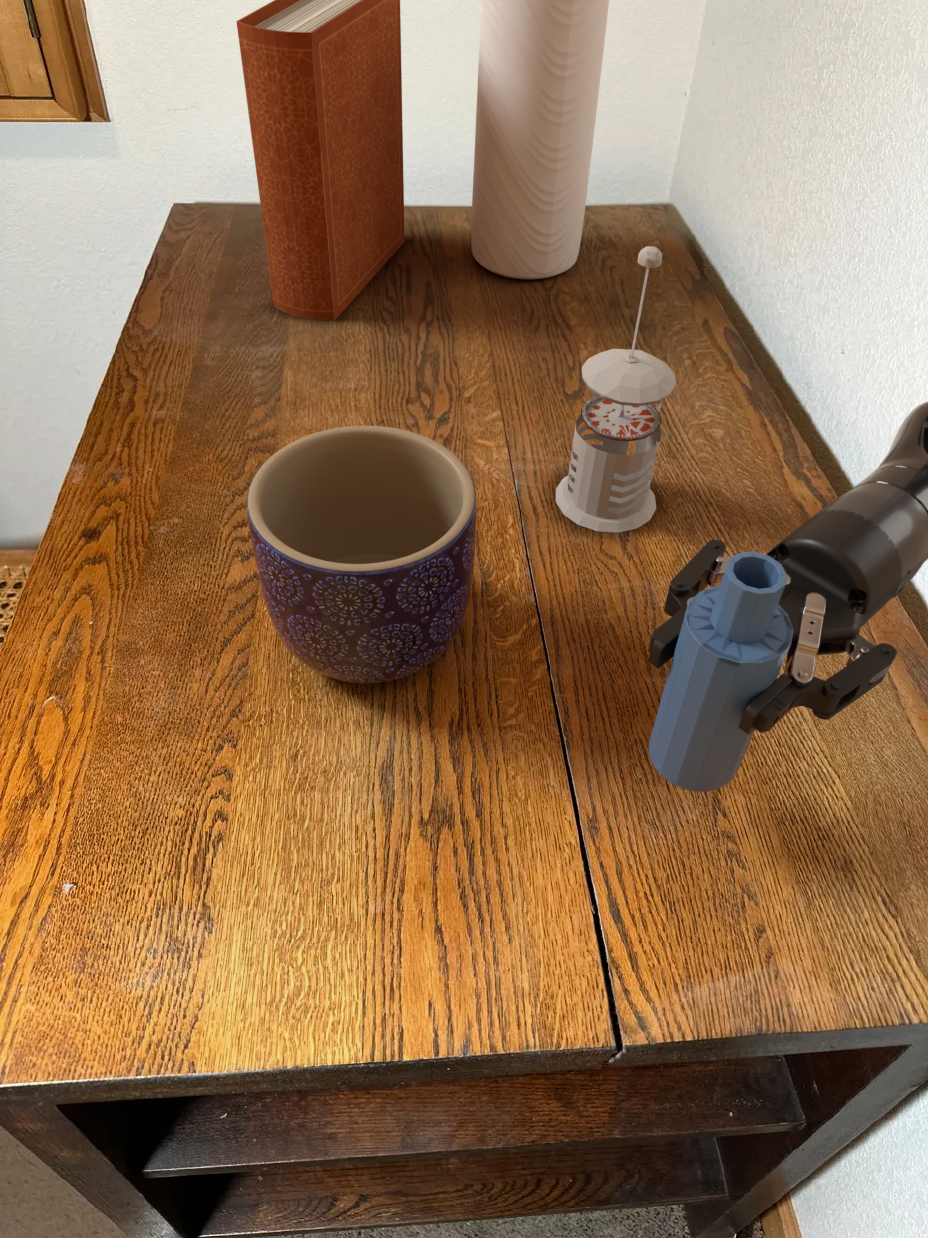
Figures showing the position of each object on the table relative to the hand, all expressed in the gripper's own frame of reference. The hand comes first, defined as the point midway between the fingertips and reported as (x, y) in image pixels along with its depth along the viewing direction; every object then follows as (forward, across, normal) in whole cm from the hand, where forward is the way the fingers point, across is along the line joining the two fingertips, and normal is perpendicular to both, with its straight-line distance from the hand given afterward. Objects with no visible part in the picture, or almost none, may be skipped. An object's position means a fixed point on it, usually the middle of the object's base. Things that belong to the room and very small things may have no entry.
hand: (699, 688), depth 55 cm
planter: (+3, -28, +15) cm, 32 cm away
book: (-33, -77, +15) cm, 85 cm away
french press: (-25, -26, +15) cm, 39 cm away
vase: (-54, -65, +15) cm, 86 cm away
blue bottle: (-2, 0, +9) cm, 9 cm away
